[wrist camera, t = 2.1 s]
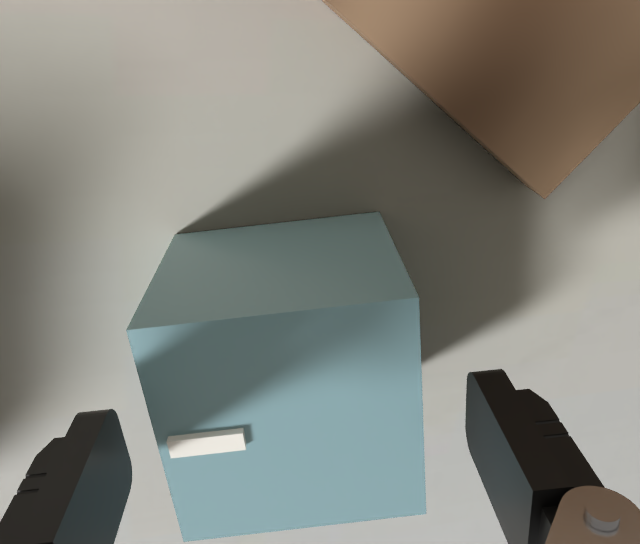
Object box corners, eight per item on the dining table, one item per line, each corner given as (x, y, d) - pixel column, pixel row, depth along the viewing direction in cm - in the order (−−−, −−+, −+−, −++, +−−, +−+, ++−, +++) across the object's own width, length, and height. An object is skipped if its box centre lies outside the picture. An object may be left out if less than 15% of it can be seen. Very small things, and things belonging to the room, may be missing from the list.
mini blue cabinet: (379, 211, 18) (421, 301, 12) (389, 381, 21) (427, 520, 15) (175, 234, 18) (123, 335, 12) (211, 402, 21) (182, 548, 15)
